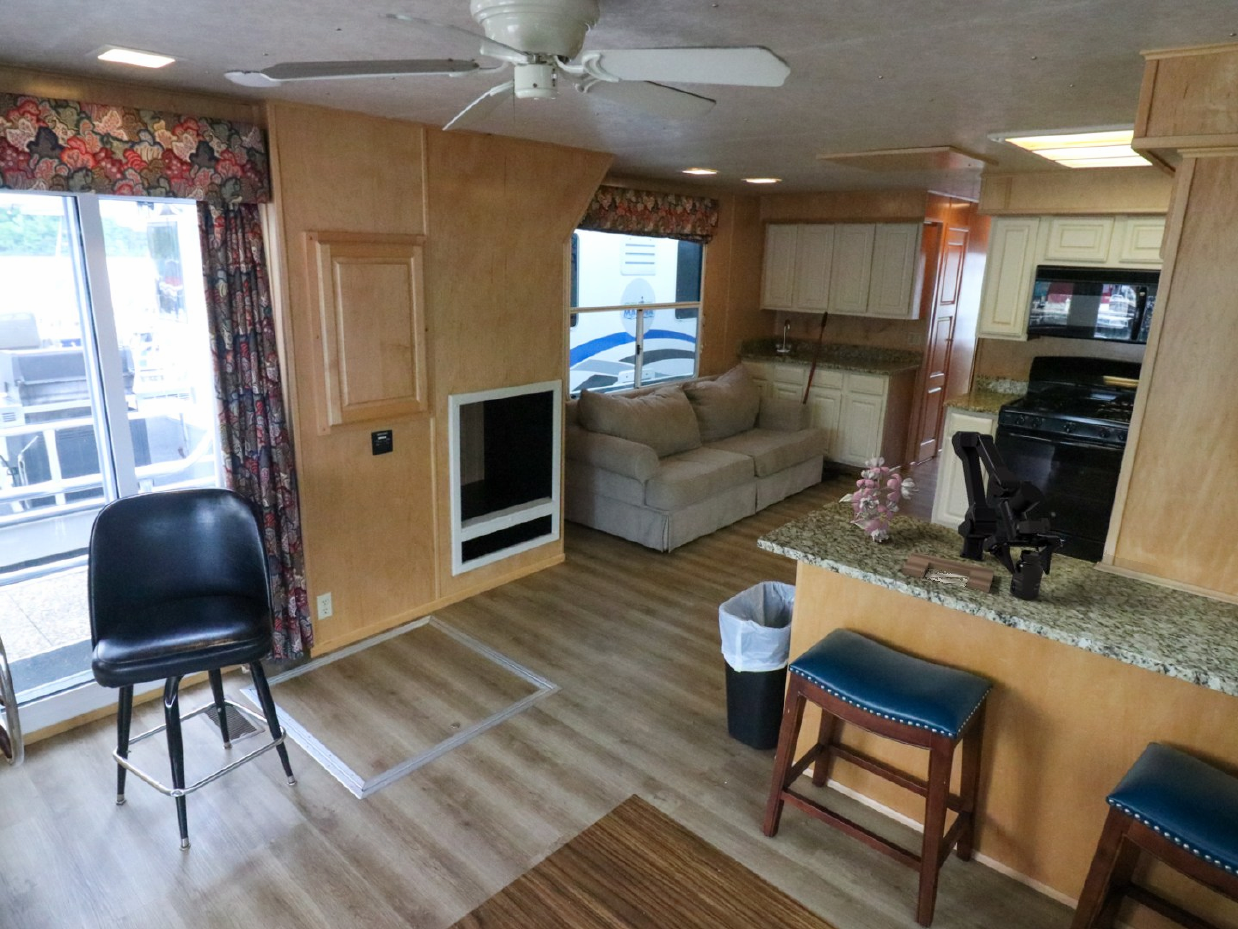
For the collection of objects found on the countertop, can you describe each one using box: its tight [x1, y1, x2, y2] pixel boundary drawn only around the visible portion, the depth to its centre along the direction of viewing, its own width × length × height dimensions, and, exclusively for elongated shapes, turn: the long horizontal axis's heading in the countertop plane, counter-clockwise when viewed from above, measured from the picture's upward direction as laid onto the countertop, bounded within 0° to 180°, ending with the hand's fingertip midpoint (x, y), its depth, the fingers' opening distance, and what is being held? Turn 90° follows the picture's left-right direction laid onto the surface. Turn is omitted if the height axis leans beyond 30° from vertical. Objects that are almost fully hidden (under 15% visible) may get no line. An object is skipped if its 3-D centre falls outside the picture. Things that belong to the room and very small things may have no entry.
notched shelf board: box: [901, 551, 996, 594], centre depth 214 cm, size 14×22×2 cm, turn 60°
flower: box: [838, 452, 920, 543], centre depth 243 cm, size 20×22×25 cm
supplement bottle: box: [1009, 549, 1044, 601], centre depth 201 cm, size 7×7×12 cm
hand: (1030, 574), depth 200 cm, fingers open, 9 cm apart
